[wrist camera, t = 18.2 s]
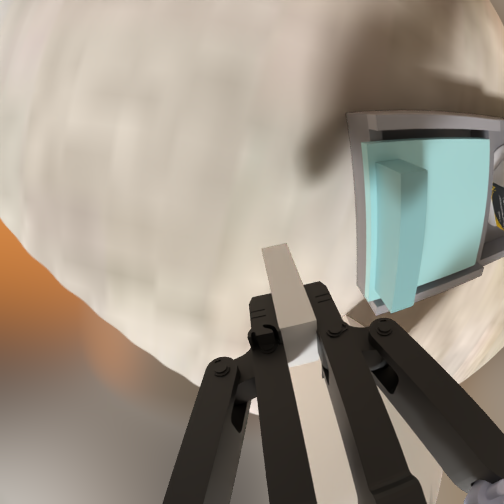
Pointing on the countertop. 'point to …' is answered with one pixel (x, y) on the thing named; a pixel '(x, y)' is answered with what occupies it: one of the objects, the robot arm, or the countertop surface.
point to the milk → (331, 444)
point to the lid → (421, 212)
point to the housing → (426, 126)
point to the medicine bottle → (498, 195)
